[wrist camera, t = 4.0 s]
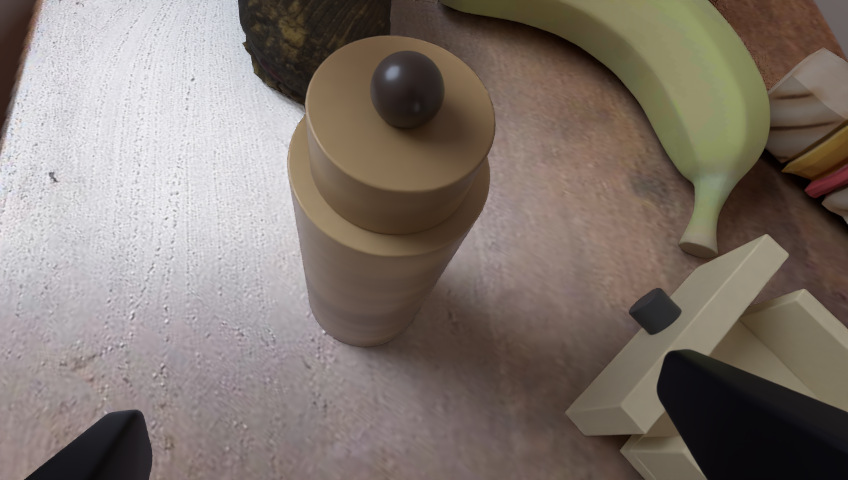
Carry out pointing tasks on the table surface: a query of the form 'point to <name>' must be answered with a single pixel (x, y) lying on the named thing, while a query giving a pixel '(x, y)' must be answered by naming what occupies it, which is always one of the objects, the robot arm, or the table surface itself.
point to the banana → (669, 85)
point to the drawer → (713, 353)
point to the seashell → (305, 36)
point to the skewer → (814, 127)
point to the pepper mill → (386, 180)
